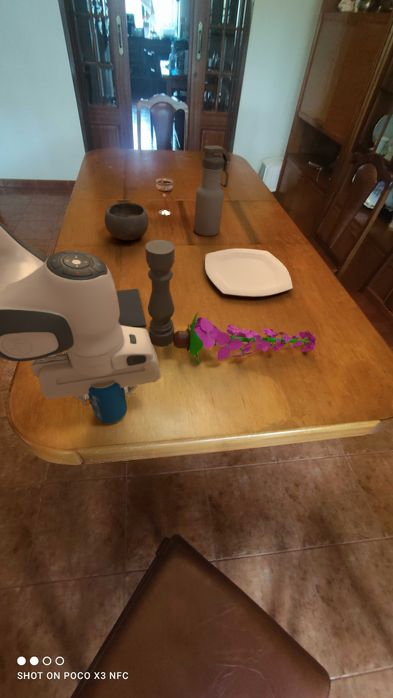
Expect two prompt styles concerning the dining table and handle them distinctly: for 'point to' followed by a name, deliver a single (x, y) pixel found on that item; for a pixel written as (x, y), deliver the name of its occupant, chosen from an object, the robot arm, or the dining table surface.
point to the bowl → (126, 220)
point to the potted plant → (234, 339)
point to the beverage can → (108, 402)
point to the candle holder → (160, 291)
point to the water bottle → (211, 191)
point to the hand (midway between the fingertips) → (108, 398)
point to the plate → (247, 272)
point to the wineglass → (164, 191)
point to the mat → (130, 308)
